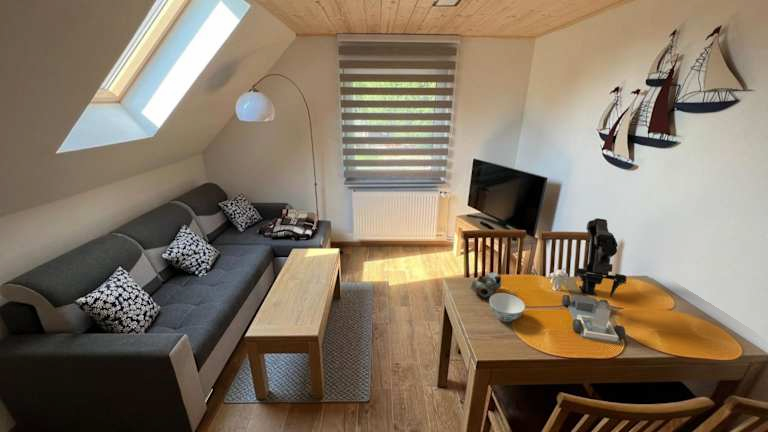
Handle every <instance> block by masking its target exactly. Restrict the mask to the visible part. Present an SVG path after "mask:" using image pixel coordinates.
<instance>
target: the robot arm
mask: <svg viewBox="0 0 768 432" xmlns="http://www.w3.org/2000/svg"><path fill="white" fill-rule="evenodd" d="M586 230H587V233H586V234H587V236H588V237H589V238H590V239H589V251H588V261H587V265H586V266H585V267H584V268H582V267H581V268H580V267H577V268H576V269H575V274H576V276H577V277H578V278H579V279H580V281H581V282H582V285H579V286H578V288H579V291H580V292H581V294H584V295H592V296H593V295H594V296H597V293H596V291H595V290H596V286H597V285H601V284H602V282H603V280H604V279H606V280H611V281H613V282H612V286H611V289H610V295H609V297H610V298H612V297H613V295H614V293H615V292H616V290H617V288H618V287H619V286H623V284H624V285H626V284H627V275H625V274H620V273H615V275H613V274H609V273H612V272H613V267H614V266H613V265H614V264H613V263H611V258H612V257H614V256H615V255H616V254H617V253H618V249H617V248H618V242H617V240H616V237H615V236H614V234H613V233H612V232H610V231H609V228H608V220H607V219H605V218H598V217H597V218H594V219H592V220H589V221H588V222H587V224H586Z"/></svg>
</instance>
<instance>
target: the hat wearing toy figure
mask: <svg viewBox="0 0 768 432" xmlns="http://www.w3.org/2000/svg"><path fill="white" fill-rule="evenodd" d="M565 270H566V267H564V268H562V269H557V270H556V271H555V272H556V273H555V272H551V273H549V276H550V282H549V283H550V284H553V286H552V290H554V291H555V290H556V291H557V290H558V291H560V290H561V291H562V289H561V287H562V280H563V284H564V285H565V286H566V285H567V279H568V278H569V273H567V272H564V271H565ZM554 280H555V281H554Z"/></svg>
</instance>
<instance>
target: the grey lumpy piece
mask: <svg viewBox="0 0 768 432" xmlns="http://www.w3.org/2000/svg"><path fill="white" fill-rule="evenodd" d="M501 278H502V275H501V273H497V272H496V273H495V272H488V273H487V274H485V277H484V276H483V275H482V274H480V275H479V277H478V278H476V279H474V280H473V281H472V283H471V286H470V289H471V290H473V291H474V293H476V294H477V295H479V296H480V297H482V298H484V299H487V300H490V297H491V296H492V295H494V294H496V292H497V290H499V289H500V288H501V287H502V286H501V285H502V283H503V281H502V279H501Z"/></svg>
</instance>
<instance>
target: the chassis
mask: <svg viewBox="0 0 768 432" xmlns="http://www.w3.org/2000/svg"><path fill="white" fill-rule="evenodd" d="M595 300H596V301H598V299H597V298H596V297H591V296H585V295H576V294H574V295H573V299H571V297H570V295H569V294H563V295H562V299H561V301H562V303H561V304H562V305H563V306H567V307H568V309H569V311H570V314H571V316H572V319H573V320H572V329H573V331H574V332H578V333H579V335H580V337H581V338H582V339H589V340H594V341H595V340H596V341H600V342H606V343H614V344H621V341H620V339H624V338H625V337H626V328H625V327H624V326H623V325H618V324H615V326H614V327H613V325H612V323H611V322H610V320H609V319H608V323H607V326H606V330H605V333H597V332H591V331H590V329H589V320H590V317H591V313H592V309H593V306H594V302H595ZM599 301H600V302H605V303H609V301H608V300H607V299H599Z"/></svg>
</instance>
